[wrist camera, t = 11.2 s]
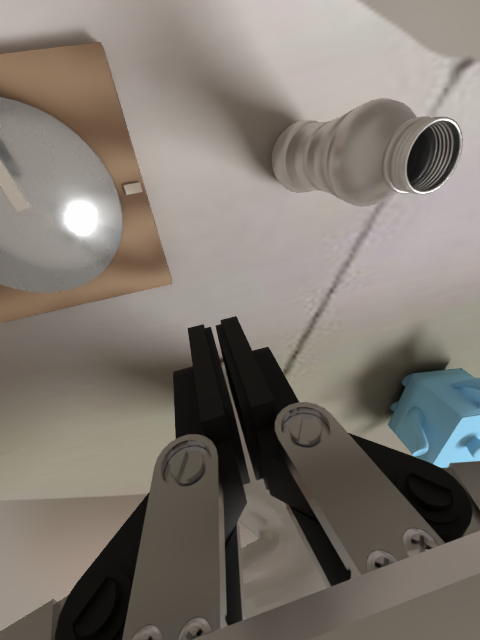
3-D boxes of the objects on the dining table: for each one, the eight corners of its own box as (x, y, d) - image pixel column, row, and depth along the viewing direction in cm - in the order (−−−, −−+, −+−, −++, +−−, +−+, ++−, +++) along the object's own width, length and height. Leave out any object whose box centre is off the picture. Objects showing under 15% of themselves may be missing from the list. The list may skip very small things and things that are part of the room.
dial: (150, 259, 33) (147, 276, 28) (4, 309, 32) (-25, 336, 27) (63, 71, 24) (37, 49, 19) (-145, 132, 23) (-228, 125, 18)
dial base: (171, 279, 36) (171, 284, 35) (-14, 321, 34) (-22, 328, 32) (103, 47, 25) (99, 40, 23) (-186, 83, 22) (-212, 77, 21)
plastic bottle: (267, 194, 34) (372, 230, 17) (264, 125, 30) (391, 84, 13) (318, 186, 35) (465, 213, 18) (320, 119, 31) (505, 73, 14)
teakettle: (441, 339, 54) (524, 394, 41) (465, 386, 63) (539, 442, 51) (360, 400, 57) (414, 467, 45) (394, 435, 67) (447, 499, 54)
